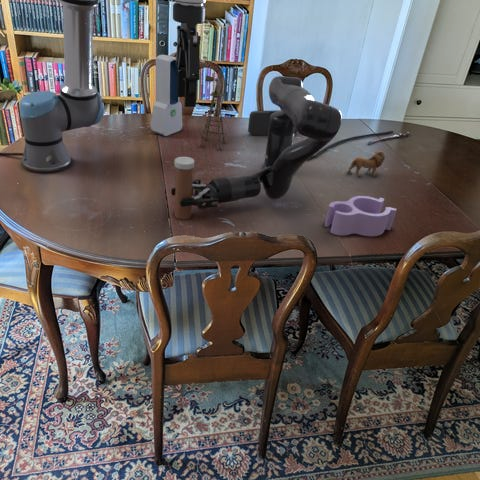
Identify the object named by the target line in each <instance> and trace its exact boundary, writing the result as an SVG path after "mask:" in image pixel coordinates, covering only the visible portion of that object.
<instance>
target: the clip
mask: <svg viewBox="0 0 480 480" xmlns="http://www.w3.org/2000/svg"><path fill="white" fill-rule="evenodd" d="M384 201H385V198H383V197H379V198H376V197H373V196H368V195H357V196H352V197H350V198H349V200H347V201H339V200H338V201H337V200H335V201H332V202H330V203H329V205H328V208H327V214H326V218H325V222H324V227H326V228H329V227H330V226H331V227H330V233H331V234H333V235H336V236H348V235H353V234H356V235H360V236H364V237H365V236H366V237H378V236H381V235H382V234H384V232H385V230H387V231H391V229H392V226H393V222H394V219H395V216H396V213H397V210H398V209H397V208H395V207H391V206H385V207H384V211H383V212H382V209H383V206H384Z"/></svg>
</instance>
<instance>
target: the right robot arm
mask: <svg viewBox="0 0 480 480" xmlns="http://www.w3.org/2000/svg"><path fill="white" fill-rule="evenodd" d="M303 86H304V84H303V81H302V79H301V78H300V77H296V76H281V75H279V76H278V75H277V76H275V77H273V78H271V81H270V83H269V86H268V96H269V99H270V101H271V103H272V104H273V105H275V106H277V107H278V108H280V109H281V110H280V111H277V112H274V113H272V114H271V116H270V123H269V131H268V135H267V138H266V147H265V153H264V154H263V155H264V162H263V169H261V170H258V171H256V172H254V173H250V174H248V175H247V174H246V175H245V174H244V175H239V176H236V175H234V176H226V177H218V178H213V179H211V180H210V181H209V182H208V183H203V182H202V180H201V179H200V178H199V179H198V178H197V179H193V181H192V197H191V198H185V199H181V200H180V205H181V207H185V206H191V207H192V206H193V207H197V209H198V210H204V209H211V208H218V205H219V204H226V203H232V202H237V201H239V200H244V199H251V198H255V197H257V196H259V195H260V193H261V190H262V189H261V188H262V187H263V190H264V192H265V194H266V196H267V197H268V198H269V199H271V200H279V199H281V198H283V197H284V196H286V195H287V193H288V191H289V189H290V187H291V184H292V181H293V178H294V175H296V173H297V172H298V171H299V169H300V168H302V166H303V165H304V164H305V162H307V161H309V160H312V159H314V158H316V157H318V156H319V155H320V154H322V153H323V152H324V151H326V150H328V149H330V148H331V147H332V148H333V147H334V146H336V145H338V144H341V143H344V142H347V141H350V140H355V139H361V138H367V137H372V136H380V135H387V134H393V133H394V130H388V131H382V132H381V131H380V132H375V133H368V134H362V135H356V136H352V137H351V136H350V137H346V138H343V139H341V140H338V141H336V142H333V143H331V144H329V143H330V142H332V140H334V138H335V137H336V136H337V134H338V133H339V131H340V129H341V124H342V120H343V115H342V111H340V109H339V108H336V107H334V106H331V105H329V104H326V103H324V102H321V101H317V100H315V98H314V97H313V95H312V93H310V91H308V90H307V89H306V88H304V87H303ZM295 129H296V131H297V132H296V133H298V134H299V135H301V136H303V137H306V138H305V139H303V140H301V141H299V142H296V143H294V137H295V133H294V131H295ZM328 144H329V145H328ZM261 186H262V187H261ZM170 194H171V195H172V196H174V197H175V187H172V188H171V189H170Z"/></svg>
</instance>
